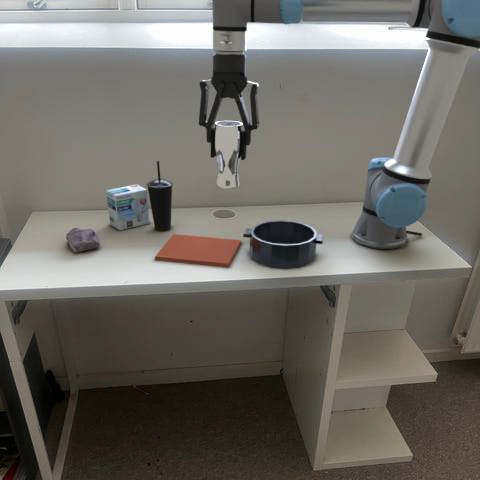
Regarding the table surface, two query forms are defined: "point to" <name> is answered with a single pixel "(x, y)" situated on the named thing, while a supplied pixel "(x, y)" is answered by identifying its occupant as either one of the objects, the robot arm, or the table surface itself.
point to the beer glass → (228, 153)
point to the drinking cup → (160, 201)
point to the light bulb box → (128, 206)
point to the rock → (82, 239)
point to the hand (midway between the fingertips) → (228, 157)
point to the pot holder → (199, 250)
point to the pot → (283, 254)
